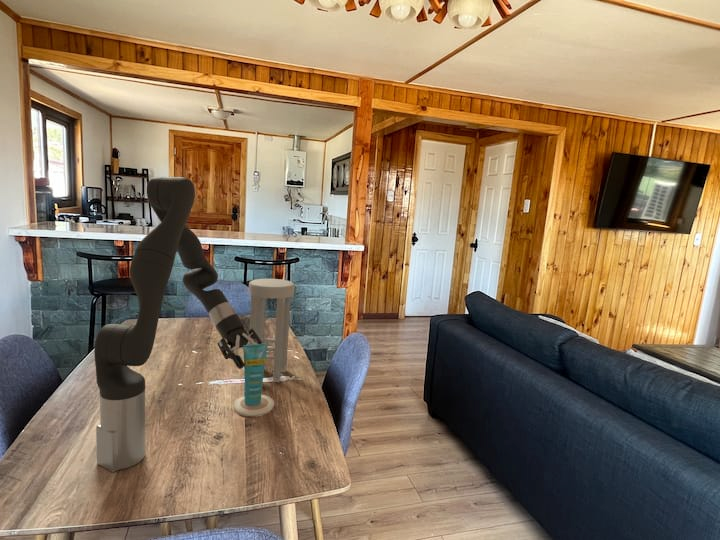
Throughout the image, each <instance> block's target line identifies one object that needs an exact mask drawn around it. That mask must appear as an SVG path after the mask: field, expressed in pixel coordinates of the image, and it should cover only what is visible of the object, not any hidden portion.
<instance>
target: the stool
mask: <svg viewBox="0 0 720 540" xmlns="http://www.w3.org/2000/svg"><path fill="white" fill-rule="evenodd" d="M295 287H296V285H295V283H293V282H292V281H291V280H286V279H281V278H279V279H278V278H257V279H253V280H251V281H249V283H248V293H249V295H250V308H249V309H250V311H249V315H250V329H253V330H254V331H255V333H256V334H257V335H258V337H259V338H260V340H261V341H262V344H263V343H274V346H271V345H268V347H267V352H273V355H270V354H269V355H268V354H266V359H265V360H273V367H272V368H273V369H272V370H273V371H272V372H273V373H272V383H275V382H278V384H280V382H281V374H282V372H284V373H283V374H285V373H286V372H287V368H288V367H287V366H288V351H289V350H288V347H289V346H288V345H289V331H290V330H289V329H290V314H291V313H290V312H291V297H292V296H294V295H295ZM267 299H276V307H275V308H276V309H275V310H276V312H275V330H274V331H275V332H274V338H269V337H265V334H266V333H265V331H266V313H267V312H266V311H267V310H266V309H267ZM255 341H256V339H255ZM256 342H257V341H256ZM279 381H280V382H279Z"/></svg>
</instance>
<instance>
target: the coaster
mask: <svg viewBox="0 0 720 540" xmlns="http://www.w3.org/2000/svg"><path fill="white" fill-rule="evenodd" d="M274 403H275V401H274V399H273V398H271V397H270V396H268V395H264V394H261V403H260V404H259V405H256V406H248V405H246V404H245V395H244V396H243V395H242V396H241V397H239V398H238V397H237V399H236V400H235V401H234V404H233V411H234V412H235V413H236V412H237V413H236V414H238V415H239V416H243V415H244V417H248V416H256V417H261V416H260V415H262V416H264V414H265V415H268V414H269V413H270V411H271V410H272V411H273V410H274V406H275V404H274ZM272 411H271V412H272Z"/></svg>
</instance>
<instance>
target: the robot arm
mask: <svg viewBox="0 0 720 540" xmlns="http://www.w3.org/2000/svg"><path fill="white" fill-rule="evenodd" d="M146 196H147V199H148V200H147V201H148V203H149V205H150V207H151V208H152V210H153V212H154V213H155V215H156V216H157V218H158V219H159V221H160V223H158V225H157V226H156V227H155V228H153V229H152V230H151V231H149V233H148V234H146V236H144V237H143V239H141V241H139V243H138V244H137V246H136V247H135V250H134V254H133V256H132V260H131V262H130V266H129V278H130V282H131V283H132V287H133V289H134V292H135V294H136V297H137V301H138V307H139V308H138V315H137V319H136V323H135V324H124V323H123V324H121V323H107V324H105V325H103V326H102V327H101V328H100V329H99V330H98V331H97V334H96V336H95V340H94V348H93V349H94V350H93V352H94V362H95V377H96V383H97V387H98V389H99V415H100V417H99V419H100V421H99V422H100V423H99V424H98V425H96V429H95V431H96V464H97V465H99V466H101V467H102V468H105V469H106V470H108V471H110V472H111V473H115V472H116V471H119V470H124V469H128V468H131V467H133V466H136V465H137V464H139V463H140V462H142V461H143V459H144V457H146V379H145V377H144V375H142V374H141V373H139V372H137V371H135V370H133V369H131V368H130V367H141V366H143V365H145V364H146V363H147V362H148V361H149V358H150V357H151V354H152V351H153V348H154V344H155V343H154V342H155V340H156V333H157V328H158V323H159V319H160V312H161V308H162V305H163V304H162V303H163V300H164V296H165V294H166V290H167V286H168V283H169V280H170V277H171V273H172V270H173V267H174V263H175V260H176V255H177V253H178V257H179V258H180V260H181V264H182V265H183V267H184V268H185V269H187V270H190V271H187V272H186V273H184V274H183V276H182V283H183V286H184V287H185V288H186V289H187V290H188V291H189V292H190V293H191V294H192V295H194V296H195V297H196V299H198V300H199V302H201V304H202V305H203V307H204V309H205V310H206V312H207V313H208V315H209V317H210V321H211V323H212V324H213V325H214V327H215V328H216V330H217V332H218V334H219V335H220V337H221V339H220V340H219V341H218V342H217V343H216V344H217V346H218V348H219V351H220V352H221V354H222V356H223V358H224V359H225V360H228V359H230V360H232V361H233V363H234V365H235V366H236V368H238V369H239V370H242V369H243V368H244V366H245V364H244V360H243V359H242V357H241V356H240V355H239V350H240V349H241V348H242V349H243V345H257V344H262V341H261V340H260V338H259V337H258V335H257V334H256V333H255V331H254V330H253V329H250V330H249V331H247V332H246V331H245V330H244V325H243V323H242V321H241V320H240V318H239V316H240V315H239V314H238V313H237V312H236V310H235V308H234V307H233V306H232V304H231V303H230V302H229V300H228V299H227V297H226V296H225V294H224V292H223V291H222V290H221V289H219V288H214V289H210V290H205V289H207V288H209V287H211V286H213V285H215V284H216V283H217V282H218V280H219V273H218V272H217V271H216V269H215V268H214V266H213V265H212V264H211V263H210V261H209V260H208V258H207V257H206V255H205V252H204V247H203V246H202V242H201V241H200V239H199V238H198V236H197V235H196V234H195V232H193V231H192V230H191V229H190V228H189V227H188V226H187V224H186V223H187V222H188V219H189V218H190V217H189V216H190V214H191V211H192V210H193V207H194V202H195V197H196V188H195V185H194V183H193V181H192V180H191V179H189V178H187V177H181V176H154V177H152V178H150V179H149V180H148V182H147V185H146ZM255 339H256V341H257V342H256V341H255Z"/></svg>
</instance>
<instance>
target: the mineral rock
mask: <svg viewBox="0 0 720 540" xmlns="http://www.w3.org/2000/svg"><path fill="white" fill-rule="evenodd" d="M238 316H239V318H240V320H241V321H242V323H243V325H244V330H245V331H246V332H247V331H249V330H250V314H245V313H241V314H240V315H238Z"/></svg>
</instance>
